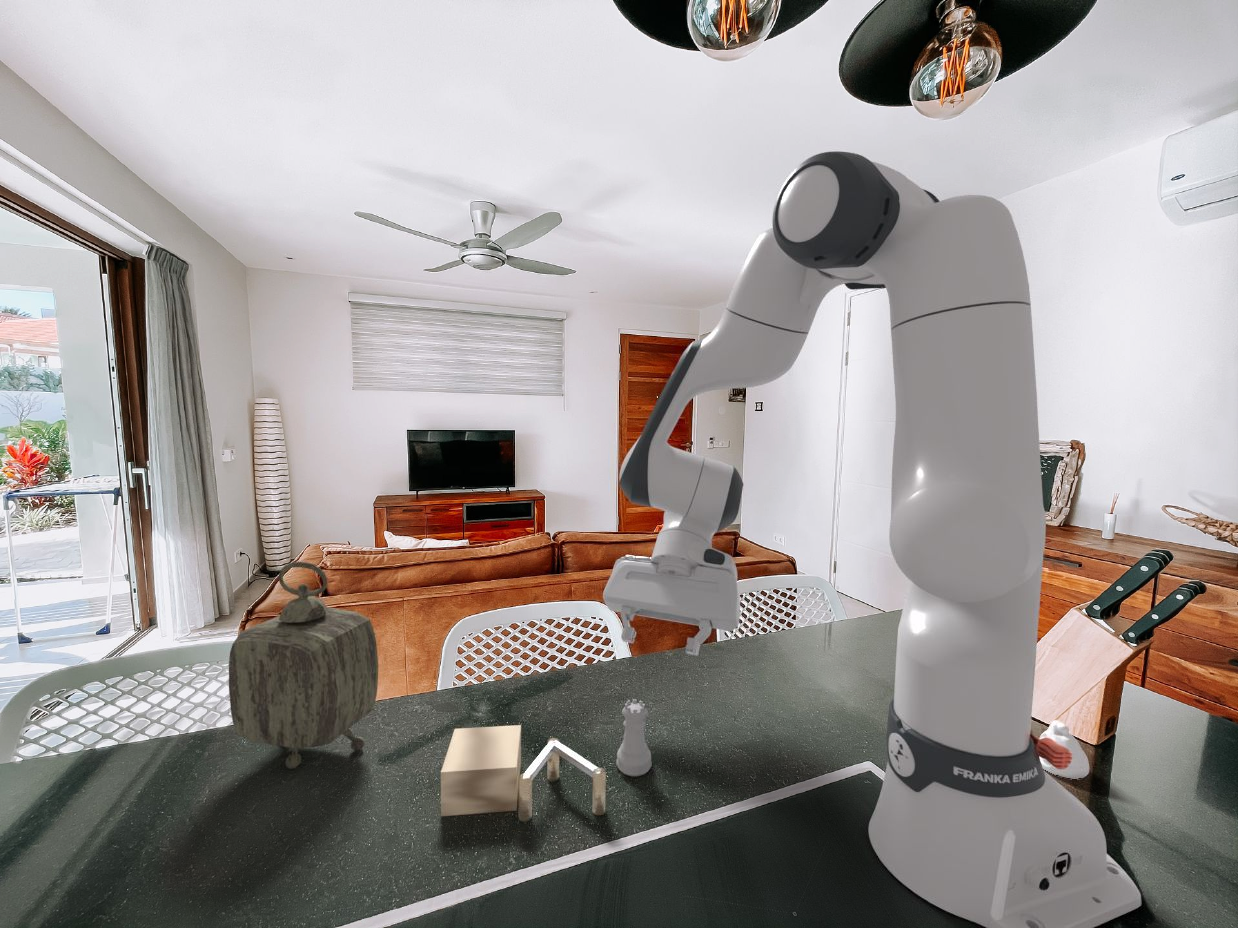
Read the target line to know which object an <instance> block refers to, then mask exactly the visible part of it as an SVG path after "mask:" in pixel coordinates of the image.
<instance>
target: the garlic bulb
mask: <svg viewBox="0 0 1238 928" xmlns="http://www.w3.org/2000/svg"><path fill="white" fill-rule="evenodd" d="M1038 738H1039V739H1042V738H1050V739H1052V740H1053V741H1054V742H1055V743H1056V744H1058V745H1061V746H1063V747H1065V748H1066V749H1068V750H1069V752H1070V753H1071V754H1072V756H1071V757H1072V760H1070V761H1071V764H1068V767H1067V768H1065V769H1057V768H1055V767H1054V766H1053V765H1051V764H1050V763H1049V762H1048V761H1047V760H1046V759H1044V758H1041V757H1040V756H1039V758H1040V761H1041V764H1042V767H1043V769H1044V771H1045V770H1046V771H1045V772H1047V771H1048V772H1047V773H1049V772H1050V773H1049V774H1051V773H1052V774H1051V775H1053V774H1055V775H1054V776H1056V775H1059V776H1062V777H1066V778H1071V779H1070V780H1072V779H1077V780H1079V779H1078V778H1082V779H1083V778H1085V777H1086V776H1087V775H1089V773H1090V764H1089V758H1088V757H1087V755H1086V753H1085V751H1084V750H1083V749H1082V747H1081V745H1080V743H1079V741H1078V740H1077V739H1076V738H1075V737H1074V735H1073V734H1071V733H1070V729H1069V726H1068V725H1067V724H1065V723H1064V722H1062V721H1060V720H1057V719H1056V720H1055V719H1054V720H1052V721H1051V723H1050V725H1049V727H1048V728H1047V730H1044V732H1043V733H1041V734H1040V737H1038ZM1059 776H1058V777H1059ZM1062 777H1061V778H1062ZM1066 778H1065V779H1066Z"/></svg>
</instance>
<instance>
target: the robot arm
mask: <svg viewBox="0 0 1238 928" xmlns="http://www.w3.org/2000/svg"><path fill="white" fill-rule="evenodd" d="M1027 272H1028V271H1027V265H1026V261H1025V256H1024V251H1023V249H1022V244H1021V241H1020V238H1019V234H1018V231H1017V228H1016V225H1015V222H1014V219H1013V216H1012V213H1011V212H1010V210H1009V208H1008V207H1007V206H1006V205H1005V204H1004V203H1003V202H1002V201H1001V200H999V199H997V198H994V197H991V196H987V195H983V194H982V195H981V194H965V195H958V196H952V197H949V198H946V199H942V200H940V199H939V198H937V196H936V195H934V194H933V193H932V192H931V191H929V190H926V189H924V188H922V187H920V186H919V185H918V184H916V183H915V182H913V180H911V179H909V178H908V177H907V176H906V175H905V174H904V173H901V172H900V171H898V170H895V169H893V168H891V167H889V166H887V165H885V164H881V163H878V162H875V161H874V162H873V161H872V160H869V159H868V158H867V157H865V156H863V155H861V154H858V153H855V152H851V151H850V152H849V151H826V152H820V153H817V154H815V155H812V156H811V157H808V158H807V159H805V160H804V161H802V162H801V163H800V164H799V165H797V167H795V168H794V169H793V171H792V172H791V173H790V174H789V175H788V176H787V178H786V180H785V181H784V183H783V184H782V186H781V188H780V190H779V192H778V195H777V197H776V200H775V202H774V207H773V212H772V227H771V228H768V229H767V230H765V231H763V232H762V233H761V234H760V235H759V236H758V237H757V238H756V240H755V241H754V243H753V245H752V247H751V249H750V250H749V252H748V254H747V255H746V258H745V260H744V261H743V264H742V265H741V268H740V270H739V272H738V274H737V277H736V279H735V281H734V284H733V287H732V288H731V291H730V294H729V297H728V299H727V302H726V306H725V308H724V310H723V313H722V316H721V318H720V320H718V321H719V322H718V323H717V325H716V326H715V328H714V329H713V330H712V331H711V332H709V334H708V335H707V336H706V337H705V338H702V339H697V340H693V341H692V342H691V343H690V344H689V345H688V346H687V348H685V350H684V351H683V352H682V355H681V356H680V358H679V359H678V361H677V364H676V365H675V368H674V370H673V371H672V373H671V375H670V376H668V380H667V381H666V384H665V385H664V388H663V389H662V391H661V393H660V395H659V397H658V398H657V401H656V403H655V405H654V407H653V409H652V411H651V412H650V415H649V417H648V419H647V420H646V423H645V426H644V428H643V430H642V432H641V434H640V436H639V437H638V438H637V440H636V441H635V442H634V444H633V445H632V447H630V449H629V450H628V452H627V454H625V455H626V456H625V458H624V459H623V461H622V464H621V467H620V470H619V476H618V477H619V478H618V479H619V482H618V485H619V487H620V488H621V489H620V490H621V491H622V492H623V494H624V495H625V497H626V498H627V500H628V501H629V502H630V503H631V504H635V505H638V506H643V507H647V508H655V509H658V510H662V511H664V513H663V525H662V528H661V530H660V531H659V533H657V537H656V541H655V544H654V547H653V551H652V554H651V557H650V556H644V555H643V556H639V555H637V556H636V555H632V554H626V555H625V556H622V557H619V558H618V559H616V560H615V562H614V564H613V568H612V573H611V575H610V576H609V578H608V581H607V583H606V584H605V587H604V590H603V593H602V598H603V601H604V603H605V606H606V607H607V609H609V610H610V611H611V612H616V613H620V617H621V621H622V625H623V630H622V632H621V635H620V636H621V640H622V641H623V642H624V643H629V644H634V643H635V638H636V636H637V631H636V630H635V628H634V627H632V626H631V623H630V622H631V621H632V622H633V621H634V618H635V616H640V617H644V618H651V619H656V620H662V621H669V622H675V623H681V624H686V625H692V626H697V627H699V631H698V632H697V634H695V636H694V637H687V639H686V643H687V644H686V645H685V652H686V654H687V655H690V656H699V652H700V649H701V648H700V647H701V645H702V644H703V643H704V642H705V641H706V640H707V639H708V638H709V637H710V636H711V634H712V629H714V630H715V629H716V630H723V631H726V632H727V631H728V632H732V631H734V630H735V629H736V628H737V627H738V626H739V623H740V615H741V613H740V612H741V599H740V592H739V587H738V569H737V566H736V563H735V560H734V558H733V556H731V555H730V554H728V553H726V552H724V551H721V550H718V549H716V548H714V547H713V546H712V545H713V544H712V543H713V542H712V541H713V537H714V535H715V534H716V533H719V532H722V531H723V530H725V529H726V528H728V527H729V526H731V525H732V524H733V523H734V522H735V520H736V519H737V517H738V515H739V510H740V505H741V500H742V499H741V498H742V493H743V489H744V488H743V487H744V482H743V479H742V477H741V475H740V473H739V471H738V469H737V468H736V467H735V466H733V465H731V464H729V463H726V462H723V461H720V460H717V459H714V458H712V457H711V458H710V457H707V456H702V455H700V454H696V453H692V452H690V451H686V450H683V449H680V448H678V447H674V446H672V445H671V444H669V443H668V440H669V438H670V436H671V435H672V432H673V431H674V428H675V427H676V425H677V423H678V422H679V419H680V417H681V415H682V414H683V412H684V410H685V408H686V407H687V406H688V404H689V402H690V401H691V400H692V399H694V398H696V396H699V395H700V394H703V393H707V392H712V391H718V390H728V389H729V390H730V389H746V388H747V389H748V388H754V387H758V386H764V385H765V384H768V383H772V382H774V381H776V380H778V379H779V378H781V377H783V376H784V375H785V374H786V373H788V371H790V370H791V369H792V367H793V366H794V365H795V362H796V361H797V359H798V357H799V355H800V352H801V351H802V349H803V348H804V345H805V342H806V340H807V338H808V335H809V332H810V330H811V327H812V325H813V322H814V320H815V317H816V314H817V311H818V309H819V307H820V306H821V303H822V301H823V300H824V299H825V297H826V296H827V295H828V294H829V293H830V292H831V291H832V290H834V289H835V288H837V287H840V286H841V285H844V286H845V287H846V288H847V289H849V290H854V291H855V290H869V289H870V290H871V289H886V291H887V295H888V301H889V316H890V317H889V318H890V337H891V349H892V352H891V354H892V364H893V366H892V368H893V380H894V381H893V383H894V395H895V397H894V398H895V424H894V425H895V426H894V435H893V436H894V437H893V451H892V466H891V467H892V468H891V491H890V492H891V494H890V495H891V497H890V499H891V501H890V502H891V503H890V508H891V509H890V523H889V536H888V537H889V545H890V546H889V547H890V550H891V551H890V552H891V554H892V557H893V559H894V562H895V563H896V565H897V567H898V568H899V570H900V571H901V573H903V575H904V576H905V577H906V578H907V583H906V588H905V589H906V590H905V596H904V600H903V607H902V611H901V615H900V616H901V617H900V619H899V624H898V628H897V640H896V655H895V656H896V657H895V672H894V673H895V674H894V693H893V698H892V699H891V700H890V701H889V705H888V712H887V725H886V747H887V748H886V751H887V764H886V767H885V768H886V769H885V774H884V778H883V780H882V781H883V782H882V787H881V789H880V793H879V795H878V796H879V797H878V799H877V803H876V805H875V809H874V811H873V813H872V815H871V816H870V817H871V818H870V820H869V823H868V837H869V841H870V844H871V846H872V849H873V850H874V852H875V853H876V856H878V858H879V860H880V862H881V863H882V865H884V866H885V867H886V868H887V870H888V871H889V872H890V873H891V874H892V875H893V876H894V877H895V878H896V879H897V880H898V881H899V882H901V883H902V884H903V885H904V886H905V887H907V888H908V889H910V890H911V892H913V893H914V894H916V895H917V896H919V897H920V898H922V899H923V900H926V901H927V902H928V903H930V904H932V905H934V906H936V907H938V908H940V909H942V910H943V911H946V912H947V913H950V914H952V915H955V916H957V917H959V918H963V919H965V920H968V921H970V922H972V923H973V922H974V923H976V924H978V925H980V926H982V927H985V928H1095V927H1098V926H1101V925H1102V924H1105V923H1108V922H1109V921H1111V920H1114V919H1115V918H1118V917H1120V916H1122V915H1126V914H1127V913H1130V912H1132V911H1134V910H1136V909H1138V908H1139V907H1141V906H1142V894H1141V892H1140V890H1139V889H1138V887H1137V885H1136V883H1134V881H1133V880H1132V878H1131V877H1130V876H1129V875H1128V874H1127V871H1125V869H1123V868H1122V867H1121V866H1120V864H1118V863H1117V861H1115V860H1114V858H1112V857H1111V856H1110V855H1109V854H1108V853H1107V840H1106V836H1105V832H1104V830H1103V828H1102V825H1101V824H1100V822H1099V820H1098V819H1097V817H1096V816H1095V815H1094V813H1092V811H1090V809H1088V808H1087V806H1086V805H1085V804H1083V803H1082V802H1081V801H1080V799H1078V798H1077V797H1076V796H1075V795H1074V794H1072V793H1071V792H1070V791H1068V789H1066V788H1065V787H1064V786H1063V785H1061V783H1059V782H1058V781H1057V780H1056V779H1055V778H1053V776H1051V775H1050V774H1048V772H1047V771H1045V770H1043V767H1042V764H1041V761H1040V758H1039V756H1040V757H1041V758H1044V759H1046V760H1047V761H1048V762H1049V763H1050V764H1051V765H1053V766H1054V767H1055V768H1057V769H1065V768H1067V767H1068V764H1071V761H1070V760H1072V757H1071V756H1072V754H1071V753H1070V752H1069V750H1068V749H1066V748H1065V747H1063V746H1061V745H1058V744H1056V743H1055V742H1054V741H1053V740H1052V739H1050V738H1042V739H1039V738H1040V737H1038V736H1036V735H1034V734H1033V733H1034V732H1033V731H1032V730H1031V726H1032V713H1033V700H1034V686H1035V676H1036V673H1035V672H1036V664H1037V663H1036V662H1037V661H1036V660H1037V647H1038V646H1037V645H1038V633H1039V631H1038V630H1039V617H1040V605H1041V604H1040V603H1041V592H1042V591H1041V589H1042V578H1043V577H1042V576H1043V566H1044V565H1043V564H1044V553H1045V547H1046V533H1047V532H1046V531H1047V529H1046V528H1047V517H1046V515H1047V514H1046V511H1045V507H1044V498H1043V497H1044V495H1043V481H1042V465H1041V450H1040V433H1039V432H1040V431H1039V416H1038V415H1039V412H1038V394H1037V377H1036V364H1035V361H1036V360H1035V349H1034V336H1033V335H1034V334H1033V332H1034V331H1033V318H1032V307H1031V306H1032V305H1031V303H1032V302H1031V293H1030V285H1029V278H1028V273H1027Z"/></svg>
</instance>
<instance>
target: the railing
mask: <svg viewBox="0 0 1238 928" xmlns="http://www.w3.org/2000/svg"><path fill="white" fill-rule="evenodd" d="M546 742H547V745H545V747H543V749H542V750H541V752H540V753H539V755H538V756H537V757H536V758H535V759H534V760H533V762H532V763H531V764H530V765H529V767H528V768H527V769H526V771H525V772H523V773H520V776H519V790H518V819H519V821H521V822H528V821H530V820H531V819H532V818H533V817H532V816H533V812H532V811H533V810H532V809H533V780H534V779H535V777H536V776H537V775H538V774H539V772H540V771H541V770H542V768H543V767H544V765H546V763H547V767H546V769H547V771H546V773H547V774H546V775H547V780H548V781H549V782H557V780H559V778H560V757H561V758H563V759H565V760H566V762H568V763H570V764H572V765H573V766H575V767H576V768H577V769H579V770H580V771H582V772H584V773H585V774H586V775H588V776H590V777H591V778H592V813H593V814H594V815H595V816H602V815H604V814H605V813H606V788H607V787H606V780H607V779H606V777H607V776H606V774H607V773H606V772H607V771H606V769H605V768H603V767H598V766H596V765H595V764H593V763H592V762H591V761H590V760H587V759H585V758H584V757H583V756H582V755H580V754H578V753H577V752H575V751H574V750H572V749H571V748H569V747H568V746H566V745H565V744H563V743H561V742H560V739H559V738H558V737H557V738H556V737H551V738H549V739H548V740H547V741H546Z"/></svg>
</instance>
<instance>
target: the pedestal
mask: <svg viewBox="0 0 1238 928" xmlns="http://www.w3.org/2000/svg"><path fill="white" fill-rule="evenodd" d="M448 745H449V746H448V749H447V752H446V754H445V758H444V762H443V765H442V768H441V770H440V809H441V810H440V812H441V813H440V815H441V817H450V816H461V815H462V816H463V815H475V814H477V815H478V814H487V813H488V814H489V813H490V814H491V813H501V812H514V811H517V809H518V801H519V776H520V775H521V766H522V725H521V724H518V725H516V724H515V725H499V726H482V727H481V726H480V727H465V728H464V727H462V728H454V730H453V734H452V737H451V740H450V742H449V744H448Z"/></svg>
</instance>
